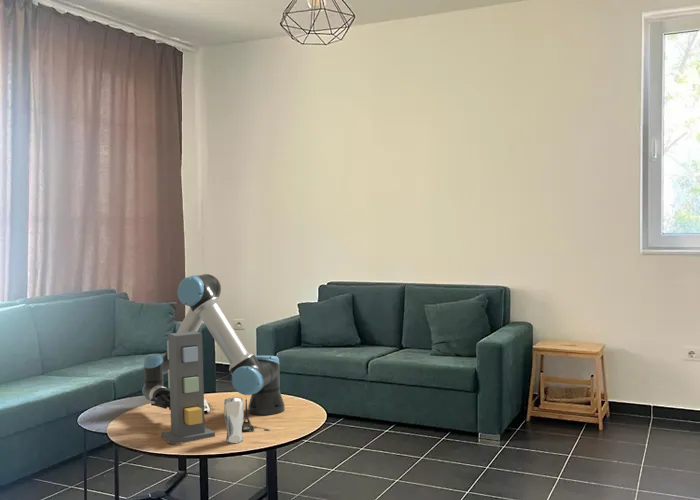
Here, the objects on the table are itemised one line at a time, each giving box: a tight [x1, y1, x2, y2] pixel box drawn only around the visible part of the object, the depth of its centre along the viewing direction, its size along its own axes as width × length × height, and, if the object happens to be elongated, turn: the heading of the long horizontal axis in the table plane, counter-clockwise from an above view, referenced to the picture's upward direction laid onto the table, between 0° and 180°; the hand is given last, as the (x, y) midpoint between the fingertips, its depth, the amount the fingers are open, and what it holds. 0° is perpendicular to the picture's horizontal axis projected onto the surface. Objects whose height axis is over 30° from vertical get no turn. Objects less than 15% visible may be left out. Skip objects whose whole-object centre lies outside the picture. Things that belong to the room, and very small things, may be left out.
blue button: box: [166, 340, 198, 362], centre depth 252 cm, size 16×7×7 cm, turn 32°
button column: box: [161, 331, 216, 445], centre depth 250 cm, size 12×16×38 cm
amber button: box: [183, 406, 202, 425], centre depth 250 cm, size 16×7×7 cm, turn 32°
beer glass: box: [223, 396, 245, 445], centre depth 243 cm, size 7×7×15 cm
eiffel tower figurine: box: [225, 398, 271, 434], centre depth 257 cm, size 15×10×13 cm
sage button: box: [167, 370, 199, 393], centre depth 252 cm, size 16×7×7 cm, turn 32°
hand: (179, 407), depth 257 cm, fingers closed
